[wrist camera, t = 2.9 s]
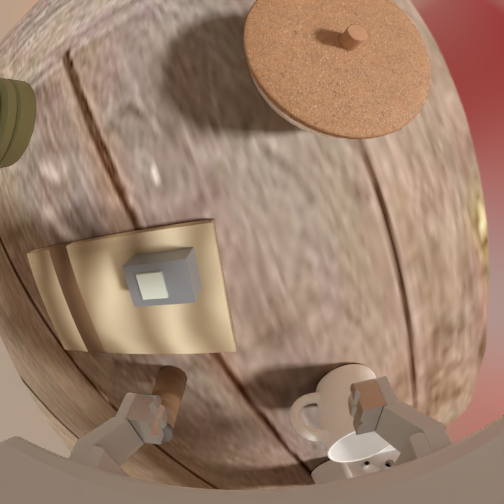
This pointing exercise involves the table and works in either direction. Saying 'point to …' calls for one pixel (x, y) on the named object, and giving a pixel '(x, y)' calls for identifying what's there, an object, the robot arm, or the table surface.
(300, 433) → the mug
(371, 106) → the lidded bowl
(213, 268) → the plank
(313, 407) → the table surface
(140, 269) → the block
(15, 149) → the piston
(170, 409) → the peg
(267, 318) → the table surface
